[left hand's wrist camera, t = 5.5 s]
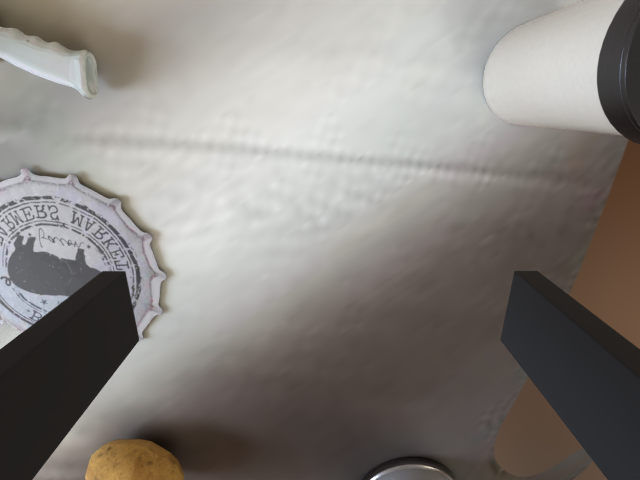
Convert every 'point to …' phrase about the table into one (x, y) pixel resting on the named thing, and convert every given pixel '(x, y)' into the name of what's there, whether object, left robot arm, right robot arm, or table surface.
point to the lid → (621, 71)
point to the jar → (552, 70)
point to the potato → (133, 462)
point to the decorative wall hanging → (67, 248)
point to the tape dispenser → (50, 61)
